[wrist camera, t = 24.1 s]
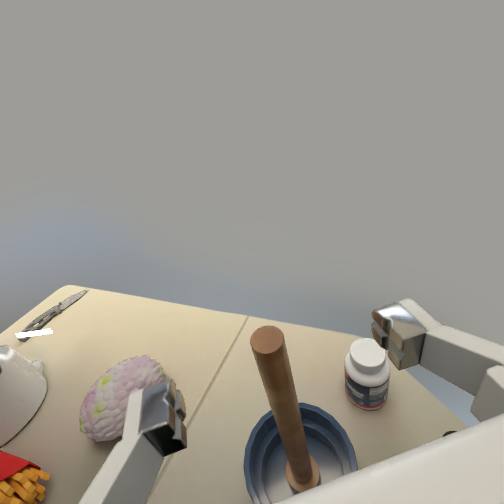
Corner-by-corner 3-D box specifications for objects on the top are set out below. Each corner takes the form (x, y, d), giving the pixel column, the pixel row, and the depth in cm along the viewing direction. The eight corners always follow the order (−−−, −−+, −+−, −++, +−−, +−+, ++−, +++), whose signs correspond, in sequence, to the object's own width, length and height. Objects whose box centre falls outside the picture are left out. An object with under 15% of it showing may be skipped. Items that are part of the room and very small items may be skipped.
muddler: (288, 498, 30) (236, 365, 17) (287, 458, 33) (242, 319, 20) (322, 499, 29) (296, 362, 16) (319, 459, 32) (293, 315, 19)
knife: (91, 289, 72) (83, 284, 73) (19, 340, 60) (11, 333, 61) (92, 293, 73) (84, 288, 74) (22, 344, 61) (14, 337, 62)
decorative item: (178, 362, 42) (110, 357, 36) (160, 445, 39) (81, 456, 33) (153, 353, 49) (92, 348, 43) (136, 424, 46) (67, 429, 40)
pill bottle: (337, 382, 40) (335, 343, 35) (368, 367, 41) (370, 326, 36) (361, 418, 35) (362, 378, 31) (396, 400, 36) (402, 359, 31)
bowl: (251, 548, 28) (237, 531, 25) (258, 426, 37) (249, 403, 34) (369, 556, 26) (371, 540, 23) (345, 426, 35) (344, 401, 32)
